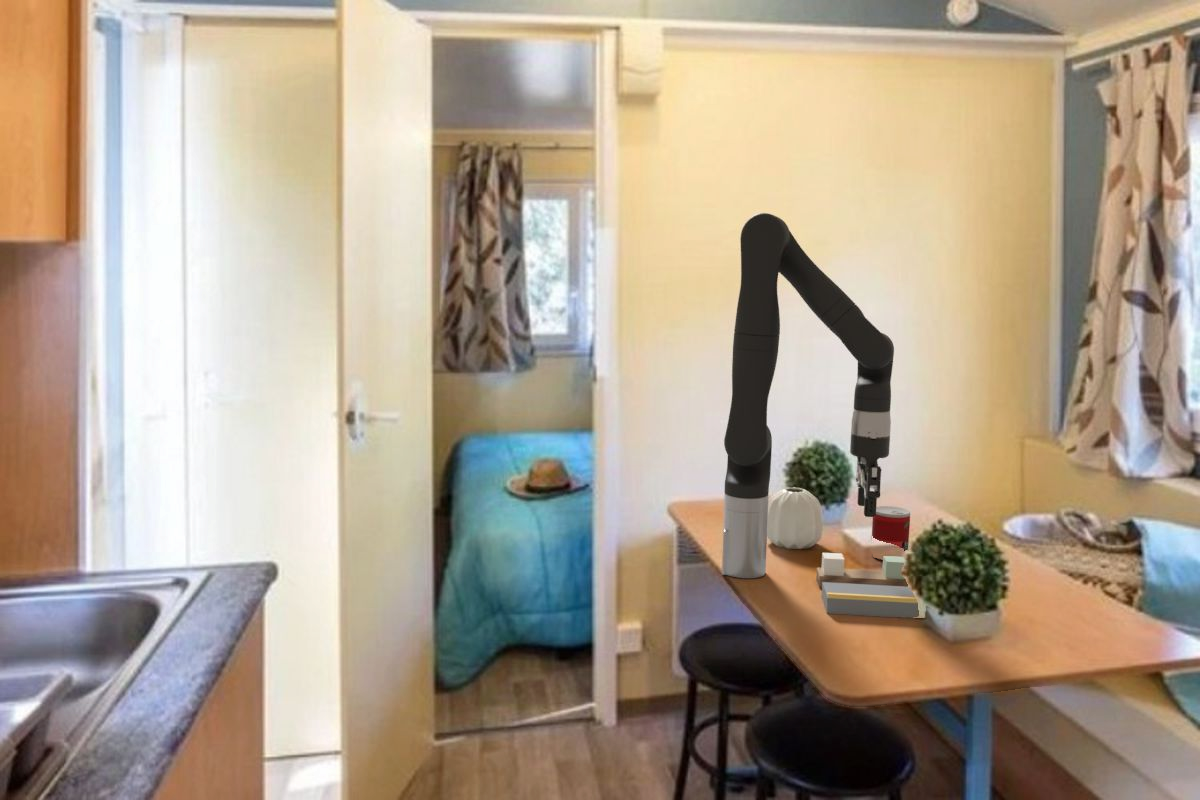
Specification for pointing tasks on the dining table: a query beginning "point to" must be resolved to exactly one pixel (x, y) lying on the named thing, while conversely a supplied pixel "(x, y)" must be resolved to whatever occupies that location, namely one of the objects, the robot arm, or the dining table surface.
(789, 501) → the vase
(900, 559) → the block
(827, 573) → the block
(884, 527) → the canned food
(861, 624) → the dining table surface
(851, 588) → the block
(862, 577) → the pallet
